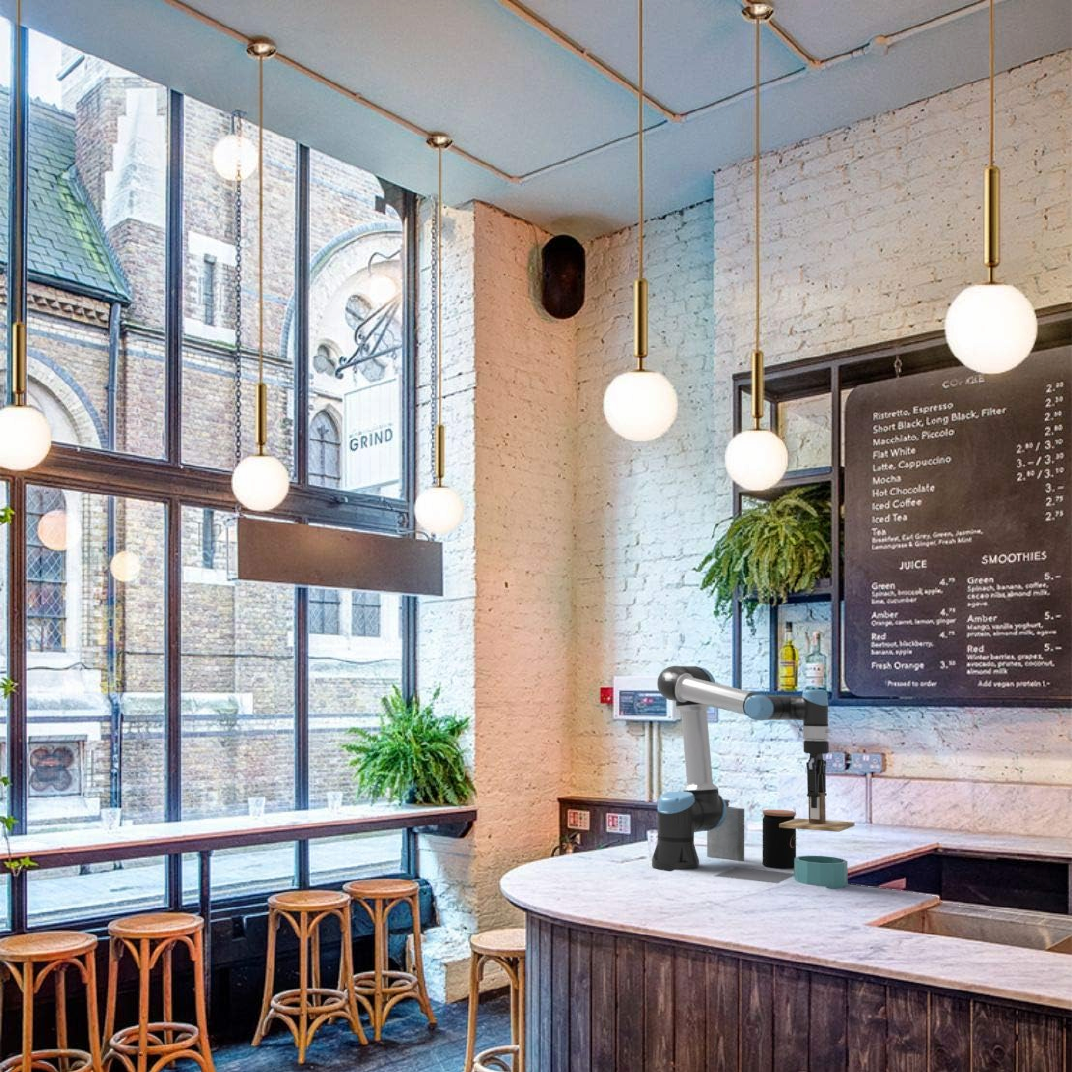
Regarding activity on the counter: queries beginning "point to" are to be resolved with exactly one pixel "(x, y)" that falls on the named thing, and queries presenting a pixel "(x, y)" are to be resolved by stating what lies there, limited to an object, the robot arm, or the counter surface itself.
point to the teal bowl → (821, 871)
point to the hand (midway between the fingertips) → (817, 818)
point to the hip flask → (728, 836)
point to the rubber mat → (755, 875)
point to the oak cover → (818, 821)
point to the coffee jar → (778, 840)
